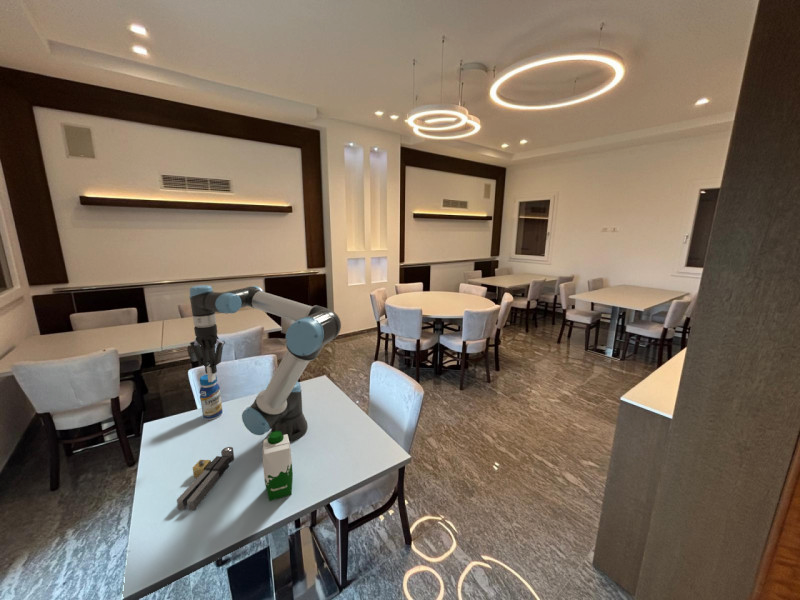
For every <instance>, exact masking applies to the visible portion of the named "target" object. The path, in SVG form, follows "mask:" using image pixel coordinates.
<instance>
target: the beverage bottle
mask: <svg viewBox="0 0 800 600" xmlns="http://www.w3.org/2000/svg"><path fill="white" fill-rule="evenodd" d="M217 382H218V377H217V375H216V379H215V380H214V381H213V382H208V375H207V373H205V374H204V375H202V376H200V377H199V384H200V386H201V387H200V388H199V394H200V395H199V399H200V405H201V413H202V418H203V419H204V420H206V421H207V420H208V421H209V420H214V419H218V418H219V417H220V416H222V414H223V412H224V411H223V410H224V409H223V405H222V393H221V387H220V384H218V383H217Z"/></svg>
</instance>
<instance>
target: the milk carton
mask: <svg viewBox="0 0 800 600" xmlns="http://www.w3.org/2000/svg"><path fill="white" fill-rule="evenodd" d="M262 443H263V444H262V457H261V459H262V467H263V477H264V486H265V490H266V494H267V496H268V497H267V498H268V501H269V502H271V501H274V500H279V499H281V498H284V497H289V496H291V495H292V493H293V492H292V491H293V479H294V478H293V476H294V475H293V471H294V470H293V460H292V459H293V458H292V447H291V441H289V438H288V435H287V434H286V435H282V433H281V431H274V432H272V433H271V432H270V433H269V435H268V438H264V439H263V442H262Z"/></svg>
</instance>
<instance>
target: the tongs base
mask: <svg viewBox="0 0 800 600" xmlns="http://www.w3.org/2000/svg"><path fill="white" fill-rule="evenodd" d="M220 453H221V456H222V458H221V460H220V461H219V462H218V463H217V464H216V466H215V467H214V468H213V471H212V472H211V473H210V474H209V475H208V476H207V478H206V479H205V480H204V481H203V482H202V484H201V485H200V486H199V487H198V488H197V490H196V491H195V492H194V493H193V494H192V495H191V497H190V498H189V499H188V500H187V504H188V506H187V509H188V511H196V509H197V508H198V507H199V505H200V504H202V502H203V500H204V499H205V498H206V497H207V495H208V494H209V493H210V492H211V491H212V489H213V488H214V487H215V485H216V484H217V483H218V482H219V480H220V479H221V478H222V477H223V475H224V474H225V472H226V471H227V470H228V468H230V464H231V463H233V461H235V453H234V447H232V446H226V447H224V448H222V449H221V452H220Z"/></svg>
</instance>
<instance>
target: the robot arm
mask: <svg viewBox="0 0 800 600" xmlns="http://www.w3.org/2000/svg"><path fill="white" fill-rule="evenodd" d="M189 300H190V306H191V307H190V308H191V312H192V313H191V315H192V321H193V326H194V327H193V328H194V330H193V331H194V336H195V340H193V341H191V342H190V343H189V345H190V346H191V348H192V349H193V351H194V353H195V356H196V359H197V361H198V364H199V366H203V367H204V372H205V374H207V375H208V382H213V381H214V380H215V379H216V376H217V372H218V369H217V368H218V367H217V366H218V365H219V364H221V363H222V356H223V349H224V345H225V344H226V342H225V340H221V339H219V336H218V326H217V324H216V323H217V317H216V313H220V314H226V315H228V314H236V313H237V312H238V311H239V310H240V309H243V308H246V307H249V308H252V309H256V310H259V311H263V312H266V313H269V314H272V315H275V316H277V317H281V318H283V319H287V320H289V321H293V323H291V324H290V325H289V327H288V328H287V331H286V333H285V340H286V342H285V348H286V352H285V354H284V355H283V358H282V360H281V361H280V363H279V365H278V366H277V368H276V370H275V371H274V373H273V376H271V379H270V381H269V382H268V385H267V387H266V388H265V389H264V390H261V391H260V392H259V393H258V394H257V396H256V397H255V398H254V401H253V402H252V404H251V405H250V406H248V407H246V408H245V409H244V410H243V412H242V413H241V419H242V420H241V421H242V422H243V425H244V427H245V428H246V430H247V431H249V432H250V433H251V434H253V435H256V436H263V435H264V434H266V433H268V432H269V431H270V433H272V432H274V431H281V433H282V435H286V434H287V435H288V438H289V442H293V441H296V440H298V439H300V438H301V437H303V436H305V434H306V433H307V431H308V421H307V419H306V417H305V415H304V413H303V398H302V385H301V382H299V379H300V377H301V375H302V374H303V373H304V371H305V369H306V368H307V367H308V364H309V363H310V362H311V361H314V360H317V358H318V356H319V354H320V353H321V351H322V350H323V348H324V347H325V345H326V344H327V345H328V343H330V342H332V341H333V340H334V339H336V338H337V337H338V336H339V335H340V332H341V329H342V321H341V319H340V317H339V315H338V314H337V313H335V312H334V310H332V309H329V308H327V307H324V306H320V305H317V304H316V305H313V306H312V305H308V304H304V303H301V302H298V301H295V300H292V299H288V298H284V297H282V296H278V295H275V294H272V293H269V292H265V291H264V289H262V288H261V287H260V286H258V285H253V286H252V285H251V286H247V287H243V288H238V289H233V290H228V291H223V292H218V291H214V290H213V287H212V286H211V285H210V284H209V285H208V284H203V285H193V286H190V288H189Z"/></svg>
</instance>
